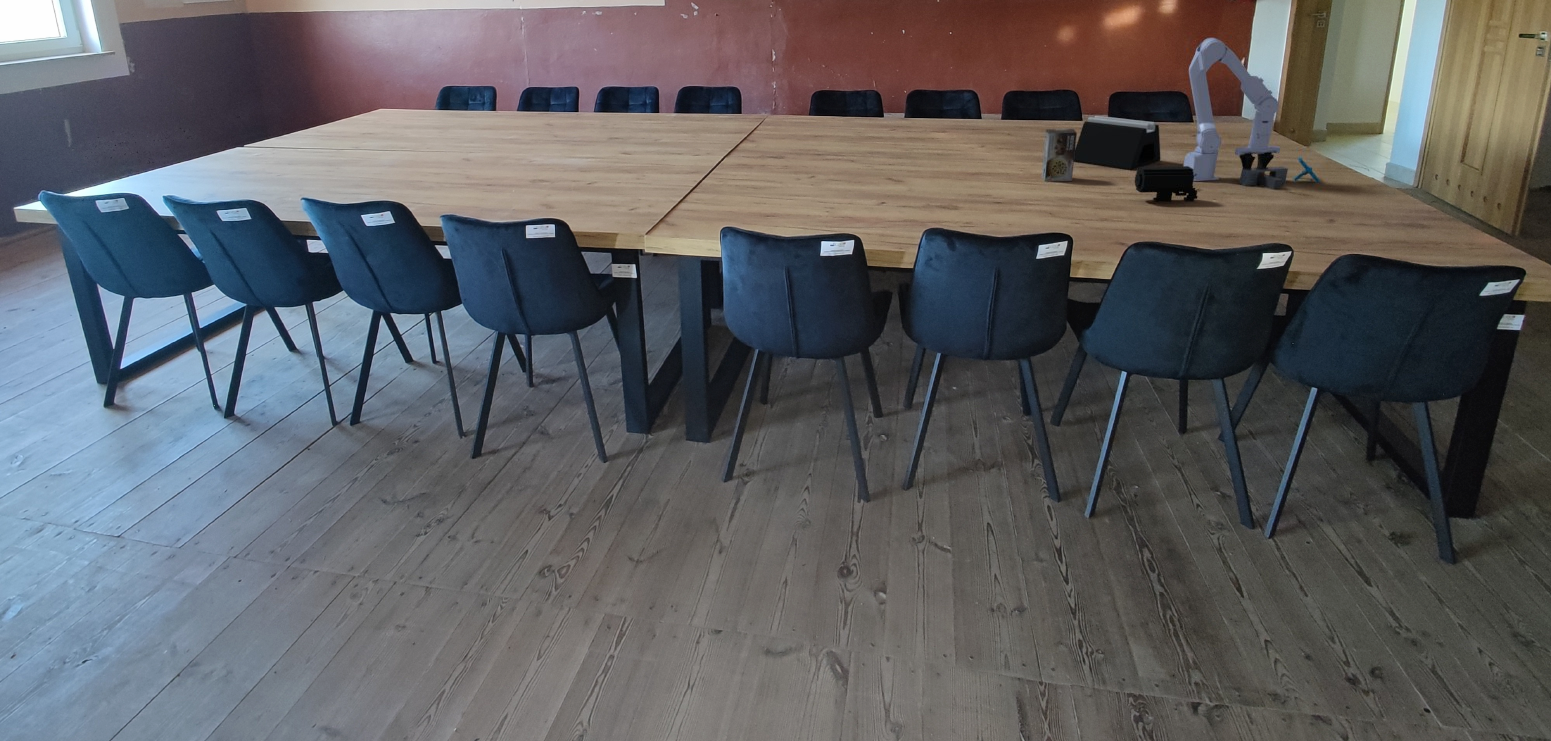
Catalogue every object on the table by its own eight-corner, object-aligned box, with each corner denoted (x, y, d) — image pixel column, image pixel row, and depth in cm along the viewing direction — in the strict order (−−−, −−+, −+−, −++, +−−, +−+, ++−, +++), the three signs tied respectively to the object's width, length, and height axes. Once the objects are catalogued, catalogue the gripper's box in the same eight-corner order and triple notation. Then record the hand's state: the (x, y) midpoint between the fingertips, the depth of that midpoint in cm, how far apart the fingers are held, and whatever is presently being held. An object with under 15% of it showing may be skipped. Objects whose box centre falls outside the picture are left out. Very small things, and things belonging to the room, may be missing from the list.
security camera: (1199, 203, 274) (1205, 170, 270) (1137, 204, 274) (1142, 170, 270) (1190, 197, 280) (1196, 165, 276) (1130, 198, 281) (1134, 166, 276)
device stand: (1130, 171, 317) (1136, 127, 310) (1071, 162, 332) (1076, 120, 325) (1160, 161, 330) (1166, 119, 324) (1102, 153, 345) (1107, 113, 339)
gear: (1321, 181, 291) (1301, 156, 292) (1303, 192, 294) (1283, 168, 295) (1321, 179, 300) (1302, 155, 301) (1304, 190, 303) (1285, 167, 304)
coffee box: (1068, 177, 308) (1074, 128, 302) (1072, 181, 303) (1077, 132, 296) (1040, 177, 309) (1045, 128, 303) (1044, 181, 303) (1049, 132, 297)
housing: (1244, 186, 293) (1247, 170, 291) (1239, 184, 295) (1242, 168, 293) (1284, 184, 294) (1288, 168, 292) (1278, 182, 297) (1282, 166, 295)
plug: (1282, 189, 288) (1285, 177, 287) (1270, 189, 288) (1273, 178, 286) (1253, 179, 302) (1255, 168, 300) (1242, 179, 301) (1244, 168, 300)
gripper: (1247, 137, 289) (1239, 179, 295) (1289, 135, 291) (1280, 177, 297) (1234, 133, 296) (1226, 175, 301) (1275, 131, 297) (1266, 173, 303)
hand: (1252, 176), depth 299 cm, fingers closed on plug, 4 cm apart
